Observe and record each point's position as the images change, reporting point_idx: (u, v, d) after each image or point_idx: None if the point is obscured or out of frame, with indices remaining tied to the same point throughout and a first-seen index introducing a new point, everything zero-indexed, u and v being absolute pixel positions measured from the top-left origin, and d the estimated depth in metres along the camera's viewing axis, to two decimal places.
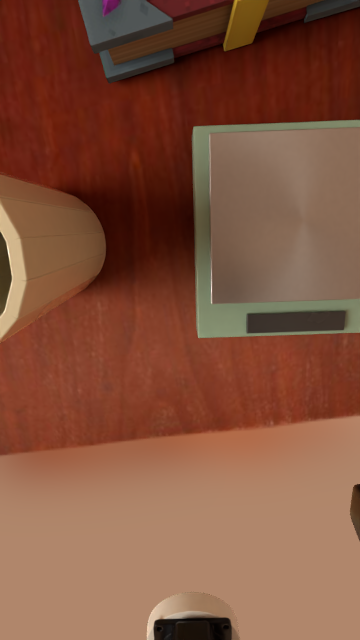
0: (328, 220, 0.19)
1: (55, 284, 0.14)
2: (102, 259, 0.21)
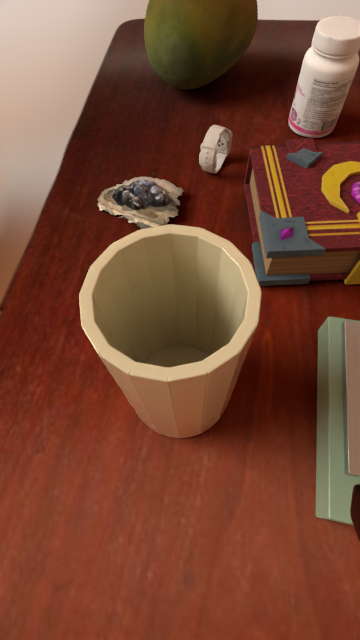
0: None
1: (239, 365, 0.14)
2: (225, 407, 0.21)
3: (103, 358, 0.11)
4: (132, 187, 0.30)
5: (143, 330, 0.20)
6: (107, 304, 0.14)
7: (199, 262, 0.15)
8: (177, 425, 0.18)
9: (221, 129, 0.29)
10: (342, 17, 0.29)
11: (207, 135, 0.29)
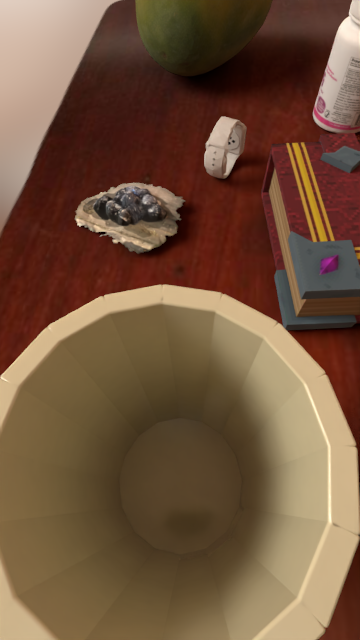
0: None
1: None
2: None
3: None
4: (119, 196, 0.24)
5: (126, 417, 0.13)
6: (45, 432, 0.08)
7: (215, 345, 0.08)
8: None
9: (233, 122, 0.23)
10: None
11: (215, 130, 0.23)
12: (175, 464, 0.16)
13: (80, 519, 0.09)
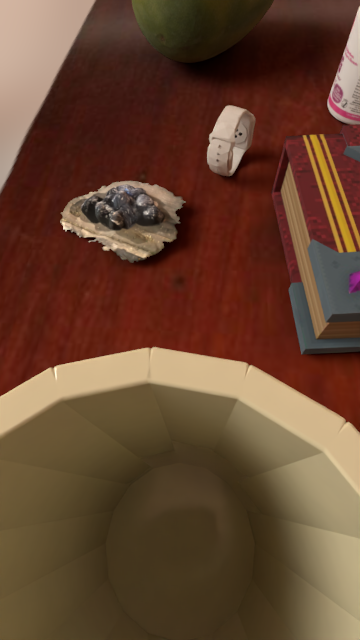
0: None
1: None
2: None
3: None
4: (110, 197, 0.21)
5: (111, 478, 0.11)
6: None
7: (232, 428, 0.06)
8: None
9: (240, 111, 0.20)
10: None
11: (220, 120, 0.20)
12: (173, 521, 0.13)
13: None
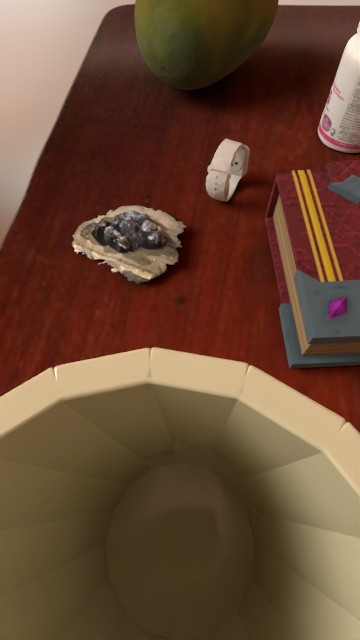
0: None
1: None
2: None
3: None
4: (117, 223, 0.23)
5: (111, 478, 0.11)
6: None
7: (232, 428, 0.06)
8: None
9: (236, 146, 0.22)
10: None
11: (217, 154, 0.22)
12: (173, 521, 0.13)
13: None
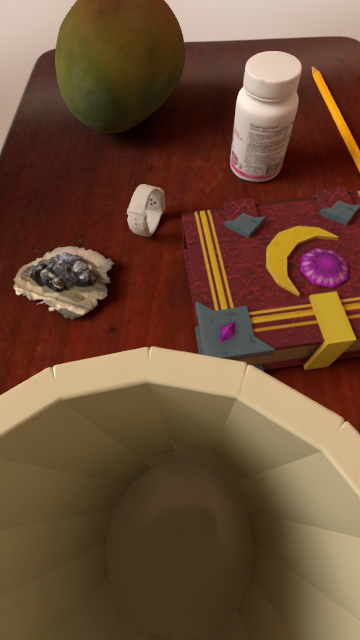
0: None
1: None
2: None
3: None
4: (51, 266, 0.26)
5: (110, 478, 0.11)
6: None
7: (231, 427, 0.06)
8: None
9: (148, 191, 0.25)
10: (274, 53, 0.25)
11: (133, 199, 0.25)
12: (173, 521, 0.13)
13: None
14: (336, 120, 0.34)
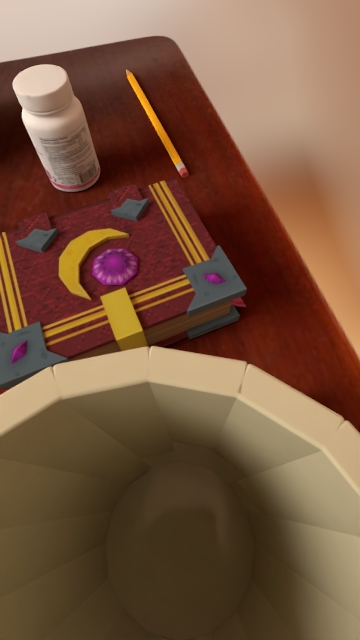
0: None
1: None
2: None
3: None
4: None
5: (110, 478, 0.11)
6: None
7: (231, 427, 0.06)
8: None
9: None
10: (41, 66, 0.25)
11: None
12: (173, 521, 0.13)
13: None
14: (150, 118, 0.35)
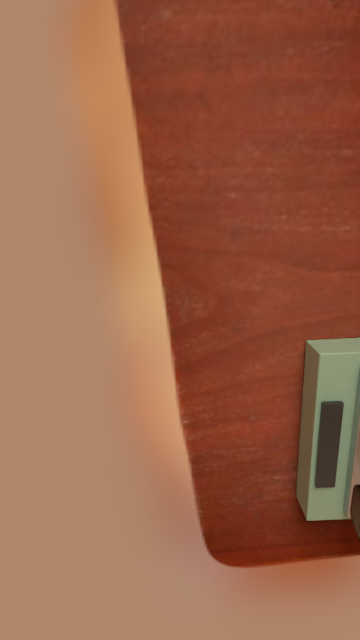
0: None
1: None
2: None
3: None
4: None
5: None
6: None
7: None
8: None
9: None
10: None
11: None
12: None
13: None
14: None
